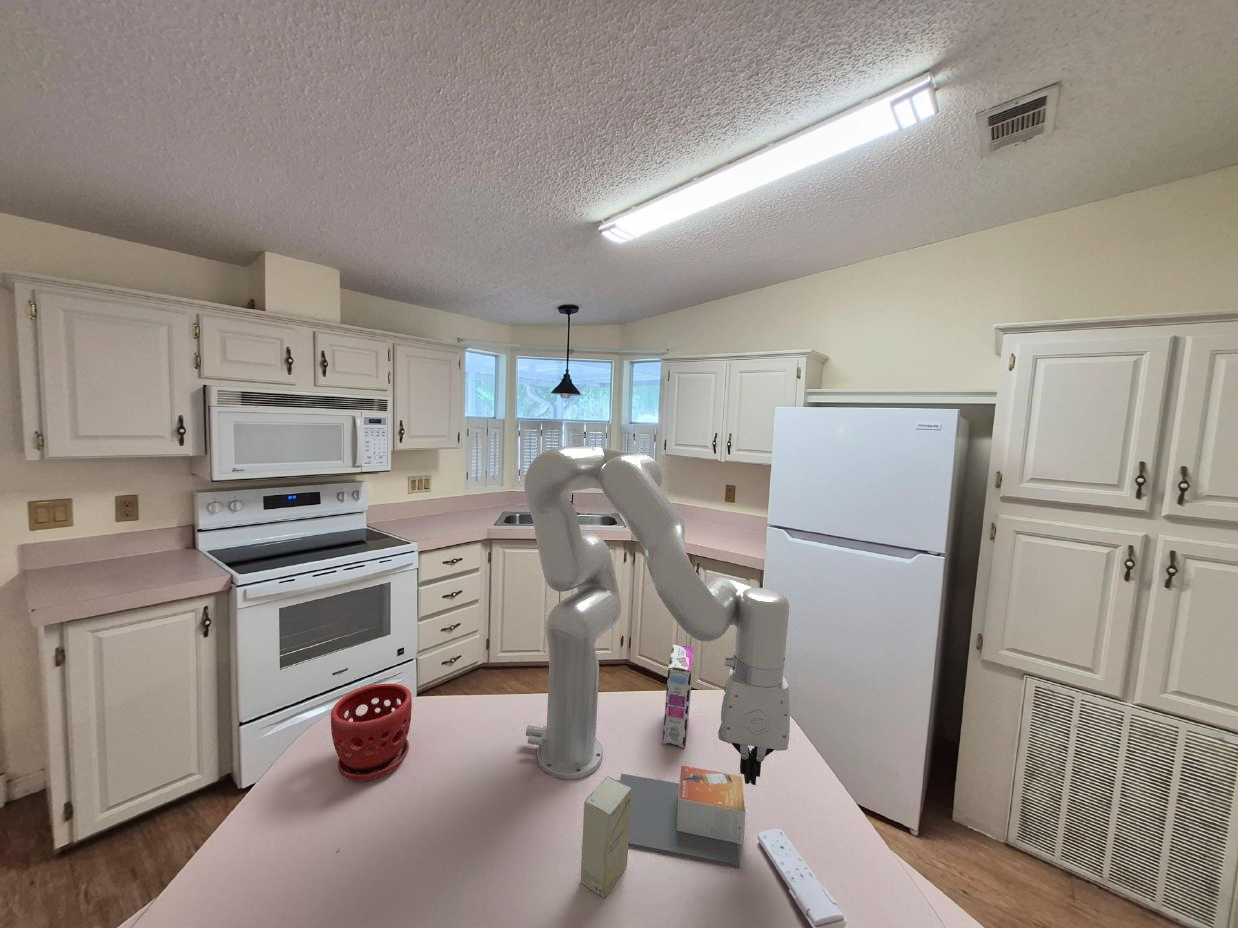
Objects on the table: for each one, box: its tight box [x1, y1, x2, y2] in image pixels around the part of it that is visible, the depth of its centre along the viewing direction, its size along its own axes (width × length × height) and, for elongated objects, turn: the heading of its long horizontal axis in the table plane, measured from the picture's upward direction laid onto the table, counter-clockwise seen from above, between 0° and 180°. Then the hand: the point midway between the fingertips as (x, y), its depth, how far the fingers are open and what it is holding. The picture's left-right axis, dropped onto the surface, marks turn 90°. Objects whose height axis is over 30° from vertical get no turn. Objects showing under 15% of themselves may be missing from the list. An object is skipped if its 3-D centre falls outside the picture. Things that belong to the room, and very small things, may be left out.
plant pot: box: [330, 683, 413, 782], centre depth 86 cm, size 13×13×12 cm
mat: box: [619, 773, 741, 869], centre depth 78 cm, size 20×14×1 cm
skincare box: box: [580, 775, 631, 898], centre depth 67 cm, size 6×4×12 cm
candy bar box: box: [661, 644, 695, 749], centre depth 100 cm, size 11×5×16 cm, turn 169°
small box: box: [677, 764, 746, 845], centre depth 77 cm, size 8×6×10 cm
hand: (749, 777), depth 76 cm, fingers closed
